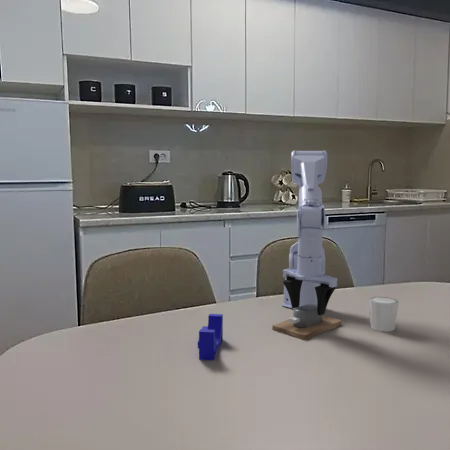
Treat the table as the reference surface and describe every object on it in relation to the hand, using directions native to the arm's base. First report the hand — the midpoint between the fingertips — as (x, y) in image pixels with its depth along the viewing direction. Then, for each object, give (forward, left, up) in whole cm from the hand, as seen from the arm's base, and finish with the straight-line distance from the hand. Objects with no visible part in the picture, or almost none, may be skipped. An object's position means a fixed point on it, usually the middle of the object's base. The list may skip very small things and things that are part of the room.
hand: (308, 310), depth 113 cm
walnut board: (0, 0, -4) cm, 4 cm away
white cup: (+13, +13, -4) cm, 19 cm away
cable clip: (-7, -27, -4) cm, 28 cm away
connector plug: (0, 0, -3) cm, 3 cm away
